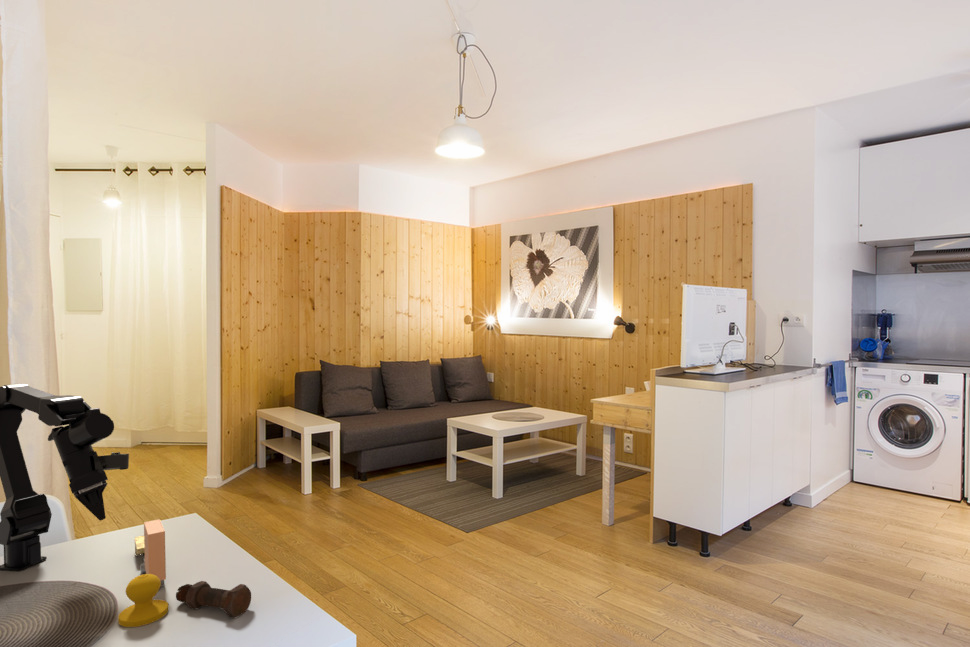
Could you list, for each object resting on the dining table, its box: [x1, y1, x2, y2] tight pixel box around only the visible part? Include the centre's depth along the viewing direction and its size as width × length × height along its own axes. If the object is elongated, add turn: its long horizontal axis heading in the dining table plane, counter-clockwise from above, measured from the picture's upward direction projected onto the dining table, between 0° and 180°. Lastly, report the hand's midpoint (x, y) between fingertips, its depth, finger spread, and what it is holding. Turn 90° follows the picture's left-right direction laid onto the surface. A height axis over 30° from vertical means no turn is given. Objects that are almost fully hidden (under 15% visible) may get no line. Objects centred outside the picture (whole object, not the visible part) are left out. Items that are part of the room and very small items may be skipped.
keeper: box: [134, 534, 145, 556], centre depth 131 cm, size 9×5×4 cm, turn 35°
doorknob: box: [117, 573, 170, 628], centre depth 103 cm, size 8×8×8 cm
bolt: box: [175, 580, 252, 619], centre depth 106 cm, size 6×5×15 cm
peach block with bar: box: [139, 518, 167, 588], centre depth 122 cm, size 4×22×11 cm, turn 36°
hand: (102, 519), depth 119 cm, fingers closed
